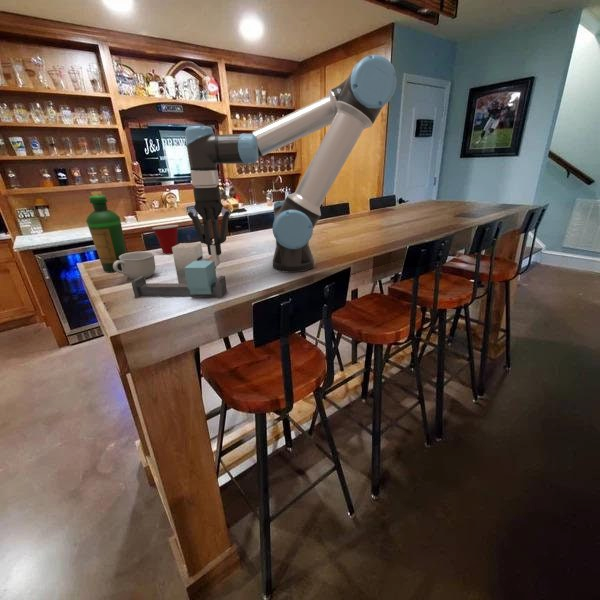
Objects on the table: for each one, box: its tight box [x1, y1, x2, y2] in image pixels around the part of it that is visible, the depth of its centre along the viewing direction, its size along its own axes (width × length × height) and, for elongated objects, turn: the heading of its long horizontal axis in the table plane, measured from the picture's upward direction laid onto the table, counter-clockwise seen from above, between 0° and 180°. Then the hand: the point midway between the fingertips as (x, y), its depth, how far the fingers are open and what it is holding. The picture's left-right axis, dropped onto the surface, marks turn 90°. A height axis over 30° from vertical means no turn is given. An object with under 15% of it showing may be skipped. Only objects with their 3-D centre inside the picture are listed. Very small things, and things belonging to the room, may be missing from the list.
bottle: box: [85, 190, 127, 273], centre depth 115 cm, size 11×11×28 cm
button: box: [197, 255, 217, 270], centre depth 102 cm, size 6×4×4 cm
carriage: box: [184, 261, 218, 294], centre depth 91 cm, size 6×7×8 cm
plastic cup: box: [151, 224, 179, 255], centre depth 141 cm, size 11×11×12 cm
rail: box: [130, 275, 228, 299], centre depth 93 cm, size 26×5×5 cm, turn 85°
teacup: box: [113, 250, 156, 280], centre depth 109 cm, size 14×11×8 cm
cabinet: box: [172, 242, 204, 283], centre depth 103 cm, size 7×6×12 cm
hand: (216, 264), depth 102 cm, fingers closed
